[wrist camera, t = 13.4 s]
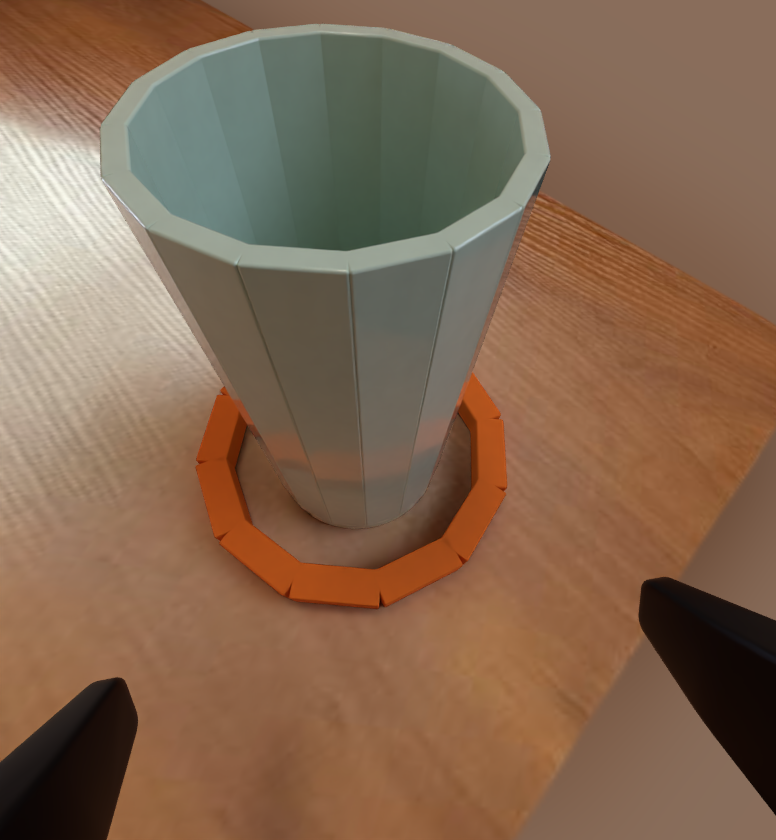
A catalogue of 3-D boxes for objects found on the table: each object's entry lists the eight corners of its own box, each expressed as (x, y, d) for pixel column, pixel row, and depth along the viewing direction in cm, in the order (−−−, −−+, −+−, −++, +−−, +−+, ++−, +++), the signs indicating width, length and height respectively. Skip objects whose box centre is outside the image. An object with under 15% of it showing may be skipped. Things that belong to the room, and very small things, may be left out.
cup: (394, 559, 16) (447, 350, 4) (247, 483, 17) (-13, 164, 6) (459, 421, 19) (593, 78, 7) (330, 365, 20) (271, -3, 9)
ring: (505, 620, 15) (516, 619, 14) (169, 589, 15) (153, 586, 14) (492, 349, 21) (498, 334, 20) (250, 329, 21) (243, 312, 20)
